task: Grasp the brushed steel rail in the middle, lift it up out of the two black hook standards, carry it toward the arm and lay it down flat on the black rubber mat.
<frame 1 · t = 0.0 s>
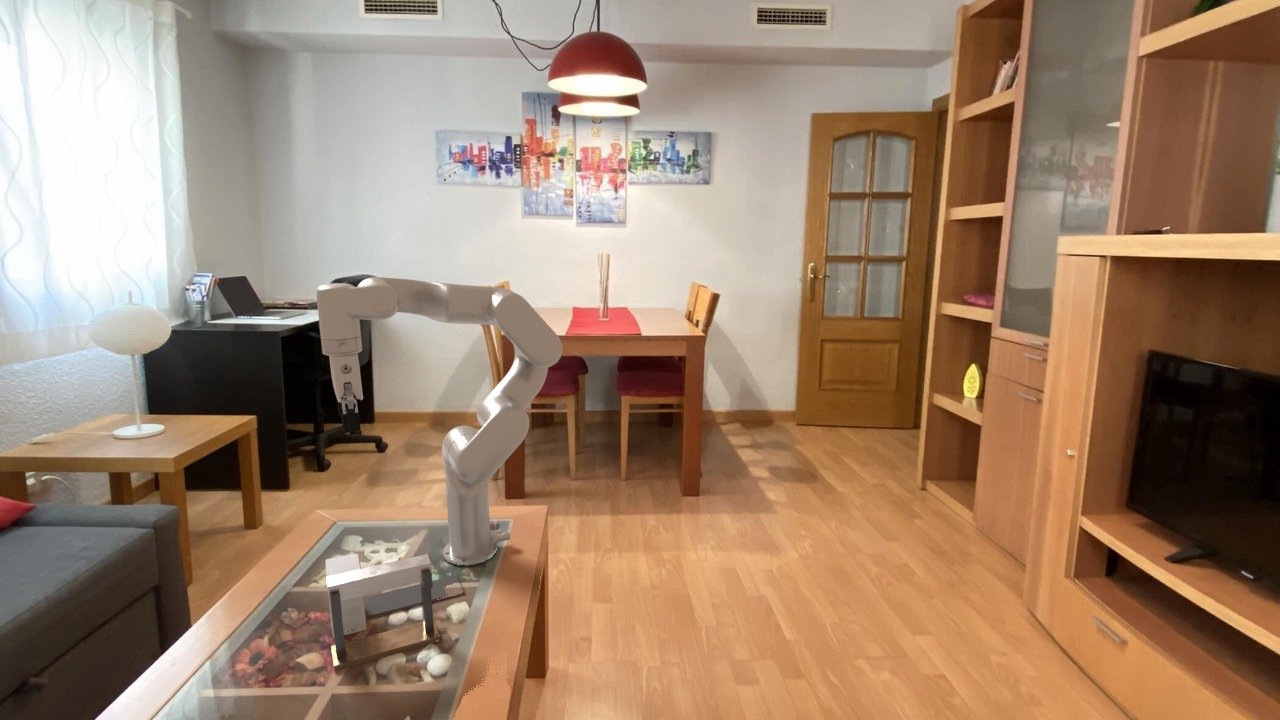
hand: (349, 423, 145), 37 cm above the table, tool pointing down, fingers open, 9 cm apart
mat: (413, 597, 148), on the table
rail: (381, 586, 129), point 13 cm above the table, touching rack
small box: (349, 623, 139), on the table
rack: (386, 646, 133), on the table
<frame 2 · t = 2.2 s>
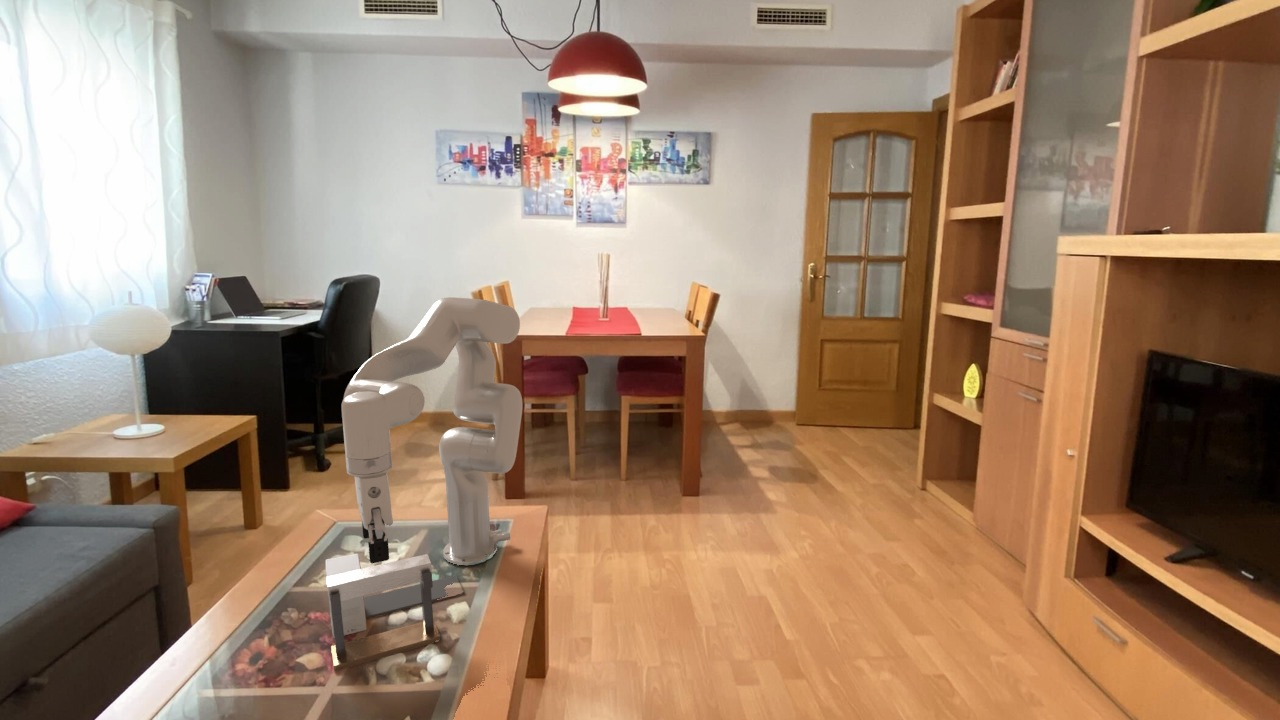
hand: (375, 548, 127), 21 cm above the table, tool pointing down, fingers open, 9 cm apart
nothing on the table moved.
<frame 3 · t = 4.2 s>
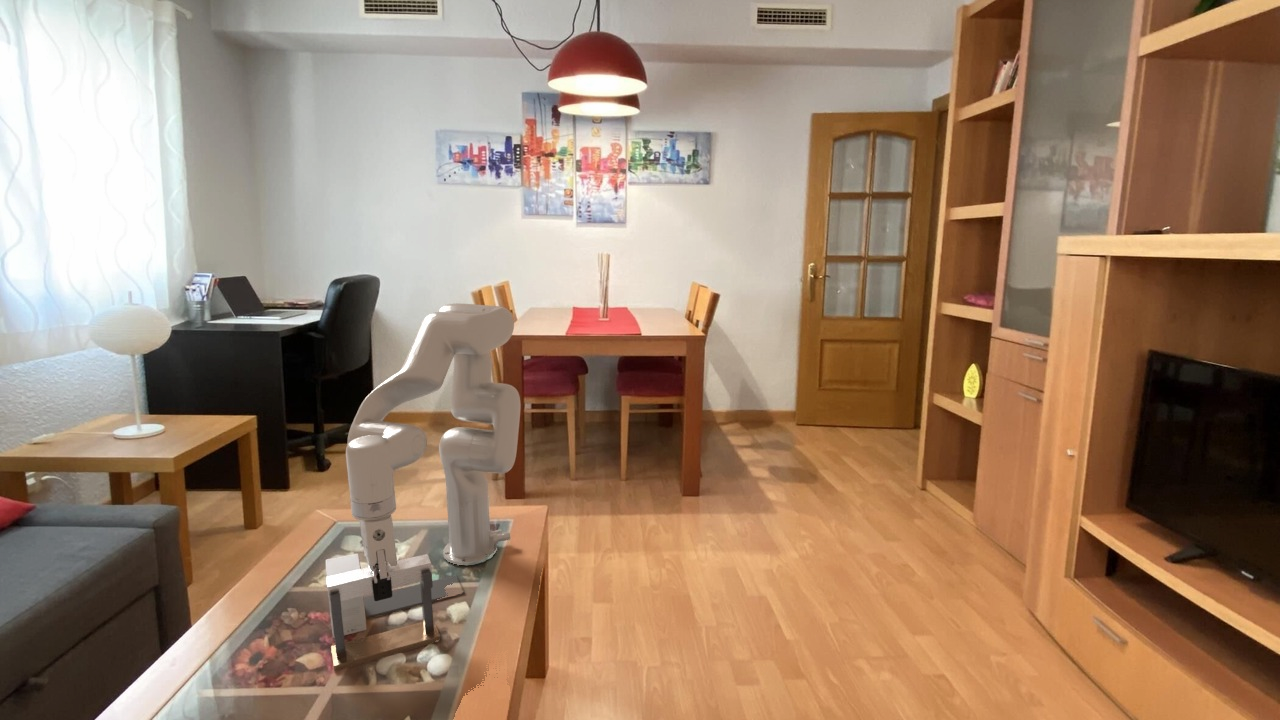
hand: (381, 591, 130), 12 cm above the table, tool pointing down, fingers closed on rail, 3 cm apart
rail: (381, 586, 129), point 13 cm above the table, touching gripper, rack
everything else where it was.
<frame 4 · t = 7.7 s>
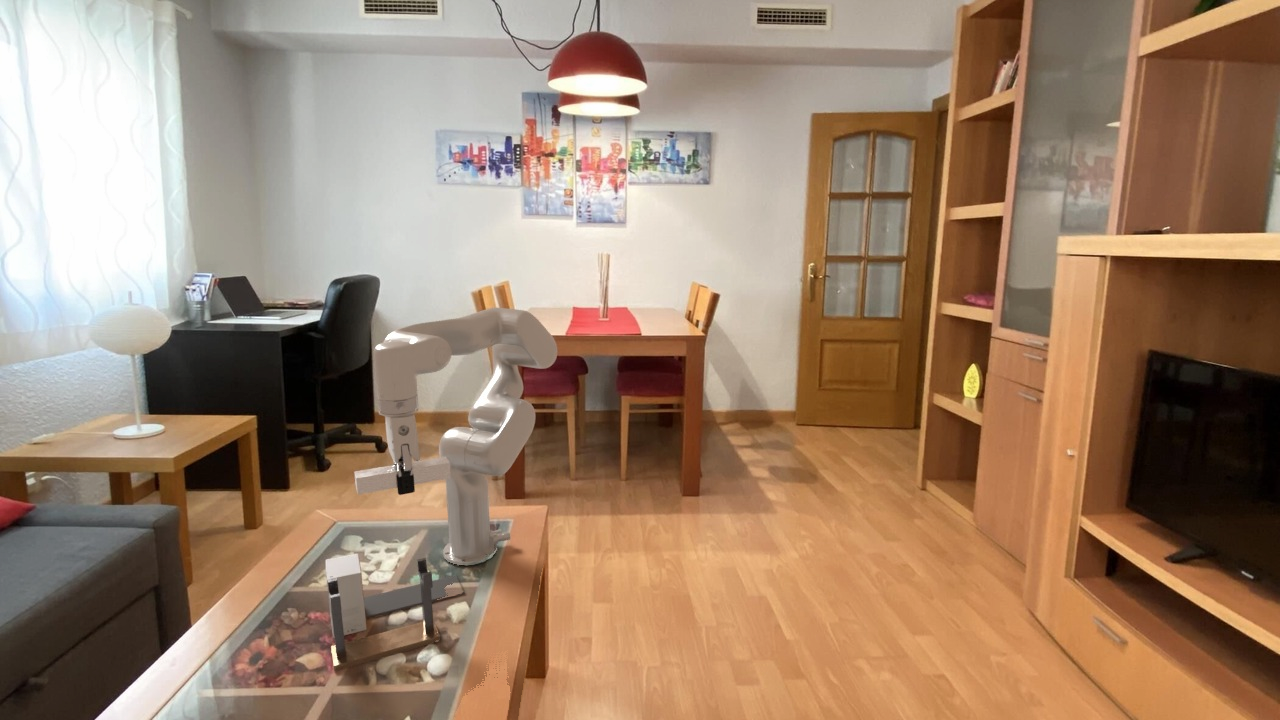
hand: (404, 488, 141), 26 cm above the table, tool pointing down, fingers closed on rail, 3 cm apart
rail: (404, 482, 141), point 27 cm above the table, touching gripper
everything else where it was.
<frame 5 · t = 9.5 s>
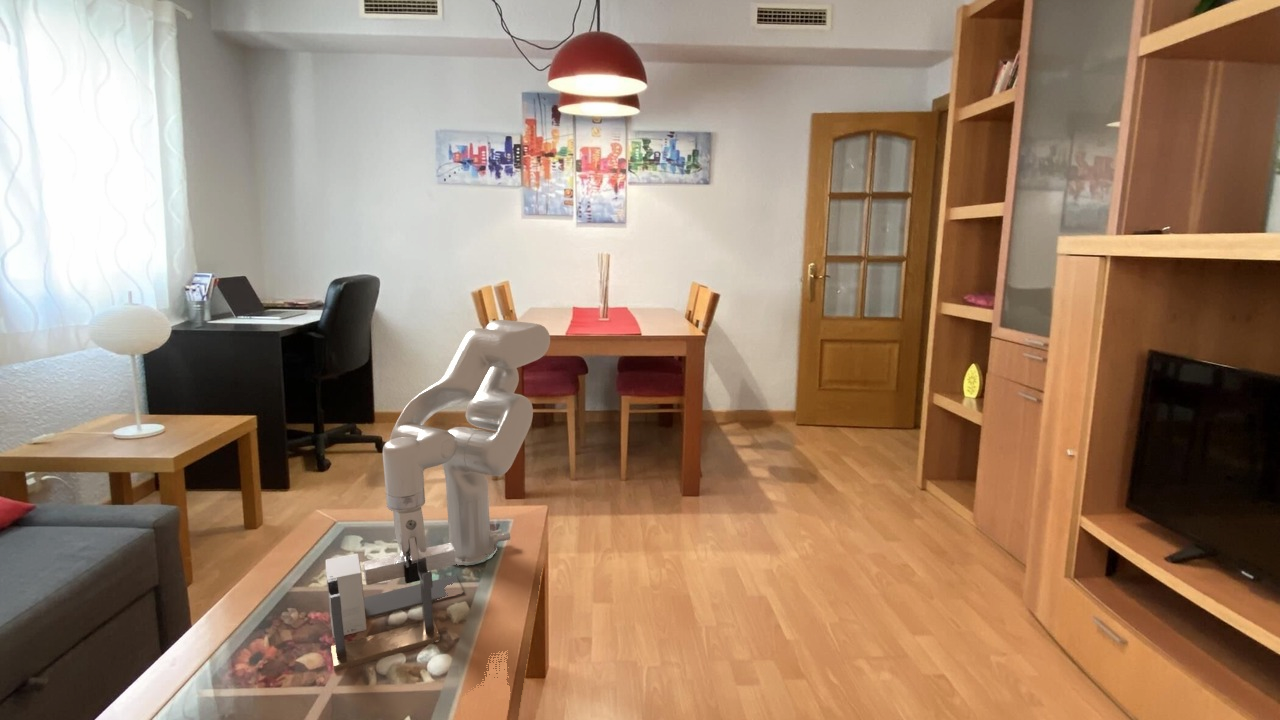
hand: (411, 575, 147), 5 cm above the table, tool pointing down, fingers closed on rail, 3 cm apart
rail: (410, 570, 146), point 7 cm above the table, touching gripper
everything else where it was.
when the fingers open (1 cm above the table, at t = 11.1 s): rail drops 2 cm, resting on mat.
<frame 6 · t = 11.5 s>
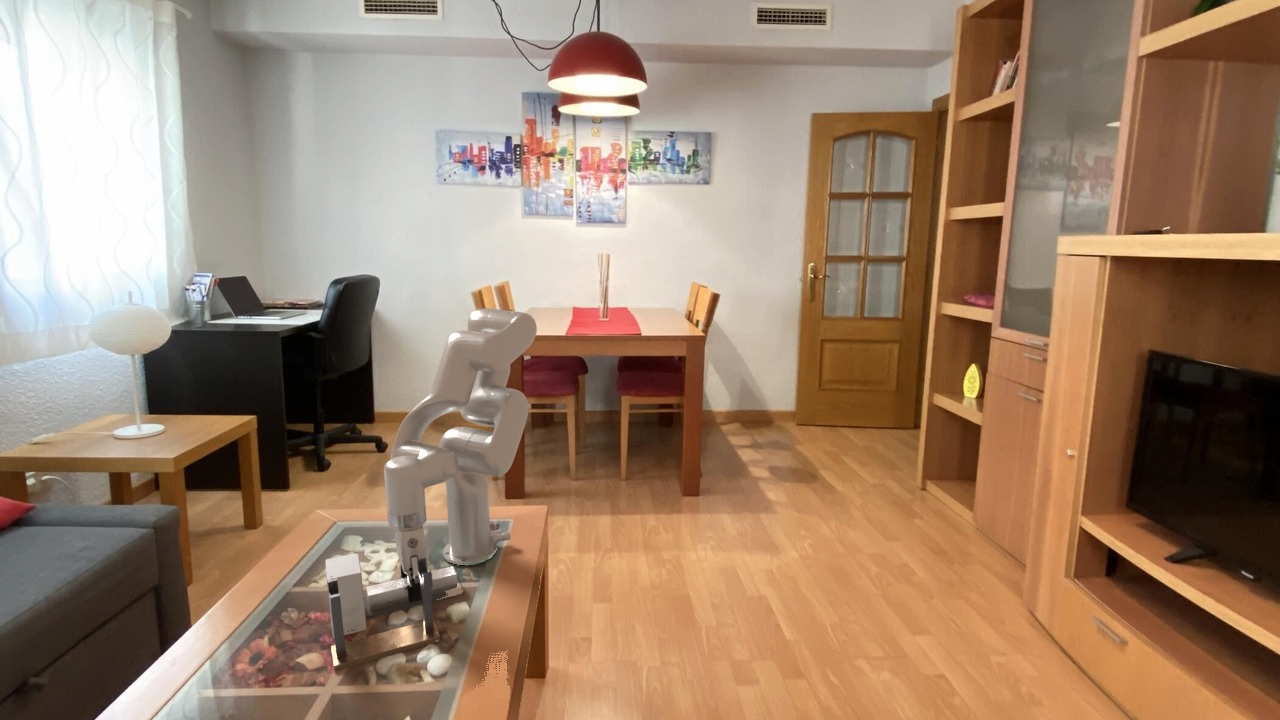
hand: (412, 589, 148), 2 cm above the table, tool pointing down, fingers open, 7 cm apart
rail: (413, 594, 148), point 1 cm above the table, touching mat
everything else where it was.
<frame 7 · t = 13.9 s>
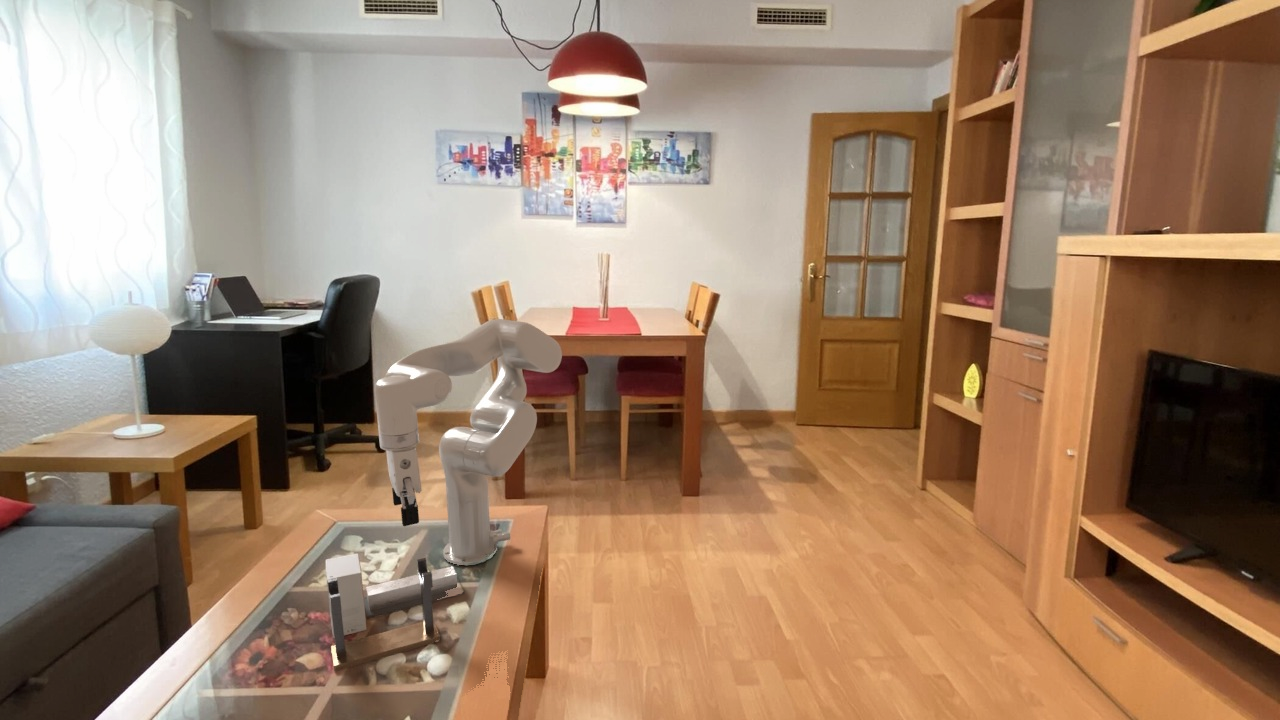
hand: (406, 513, 144), 19 cm above the table, tool pointing down, fingers open, 9 cm apart
nothing on the table moved.
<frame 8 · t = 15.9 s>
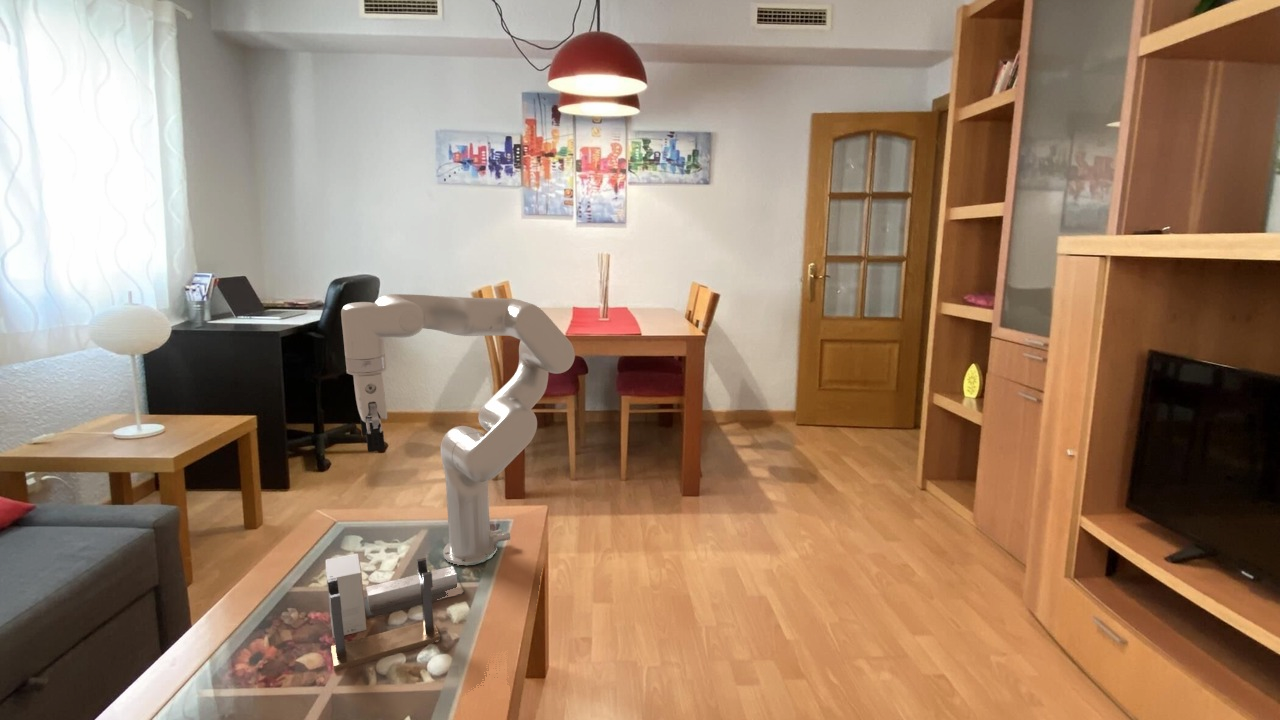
hand: (373, 442, 144), 33 cm above the table, tool pointing down, fingers open, 9 cm apart
nothing on the table moved.
at the end: rail 0.0 cm off-centre on the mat, point 0.6 cm above the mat's base; rail touching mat; the gripper is holding nothing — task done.
